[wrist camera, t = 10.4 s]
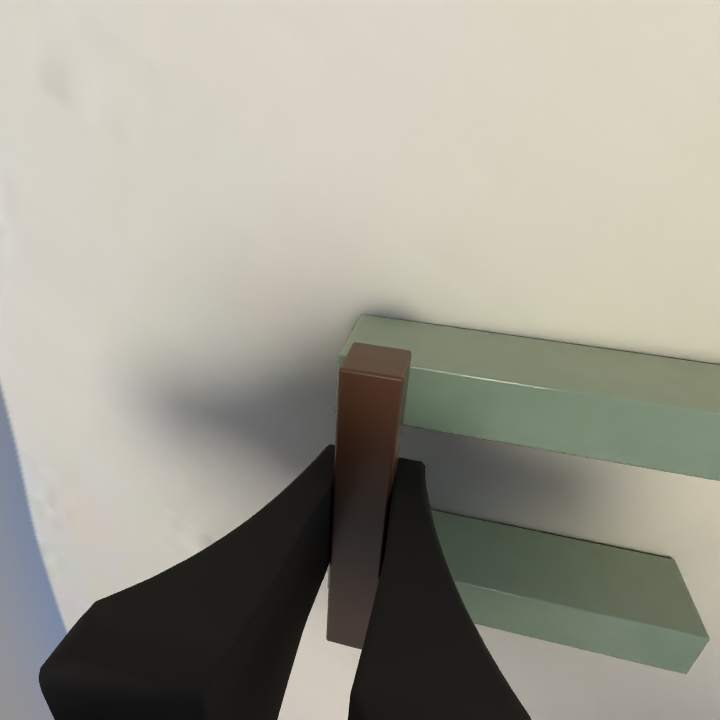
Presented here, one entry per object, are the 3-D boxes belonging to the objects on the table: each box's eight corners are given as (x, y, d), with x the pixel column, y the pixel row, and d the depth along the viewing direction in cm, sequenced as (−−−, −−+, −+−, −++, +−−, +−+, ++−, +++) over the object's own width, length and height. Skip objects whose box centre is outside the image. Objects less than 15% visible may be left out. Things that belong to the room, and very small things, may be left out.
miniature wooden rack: (655, 594, 15) (686, 675, 13) (346, 526, 16) (327, 589, 14) (777, 372, 11) (849, 434, 9) (361, 313, 13) (337, 354, 11)
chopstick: (379, 610, 14) (370, 653, 13) (337, 600, 14) (325, 640, 13) (412, 349, 10) (404, 379, 9) (353, 340, 10) (338, 367, 9)
